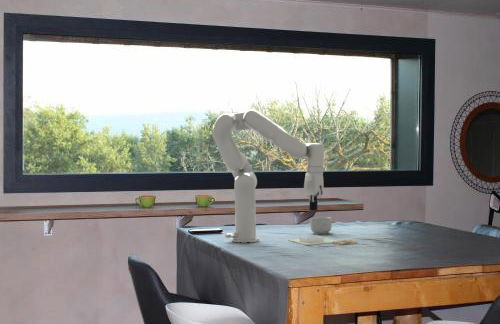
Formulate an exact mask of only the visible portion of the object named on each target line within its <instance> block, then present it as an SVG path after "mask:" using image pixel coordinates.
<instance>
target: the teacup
mask: <svg viewBox="0 0 500 324" xmlns="http://www.w3.org/2000/svg"><path fill="white" fill-rule="evenodd" d="M309 225H310V230H311V232H313V233H314V235H326V234H328V233H329V232H330V231H332V226H333V225H332V217H331V216H317V217H311V218H309Z"/></svg>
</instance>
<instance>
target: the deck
mask: <svg viewBox="0 0 500 324" xmlns="http://www.w3.org/2000/svg"><path fill="white" fill-rule="evenodd" d="M324 238H325V236H320V235H317V234H314V235H305V236H304V235H303V236H299V237H298V239H299V241H301V242H305V243H312V242H324Z"/></svg>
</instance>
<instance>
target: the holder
mask: <svg viewBox="0 0 500 324" xmlns="http://www.w3.org/2000/svg"><path fill="white" fill-rule="evenodd" d="M332 244H335V245H337V246H341V245H353V244H358V240H353V239H347V240H346V239H343V240H336V241H333V243H332Z"/></svg>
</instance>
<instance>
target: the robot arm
mask: <svg viewBox="0 0 500 324" xmlns="http://www.w3.org/2000/svg"><path fill="white" fill-rule="evenodd" d="M245 130H246V131H247V130H252V131H254V132H255V133H257V134H258V135H259V136H261V137H262V138H264V139H265V140H267V141H268V142H269V143H271V144H273V145H275V146H276V147H278V148H280V149H281V150H282V151H284V152H285V153H287V155H290V156H291V157H293V158H294V159H296V160H297V159H298V160H299V159H306V173H305V177H304V183H303V193H304V194H305V195H306V197H307V198H308V201H309V210H308V211H318V202H319V200H320V199H321V198H322V196H323V194H324V187H325V186H324V175H323V174H324V161H325V159H324V155H325V145H324V144H323V143H320V142H310V143H306V142H303V141H300V140H298V139H297V138H295V137H294V136H292V135H291V134H290V133H288V132H287V131H286V130H285V129H284V128H282V127H281V126H280V125H278V123H276V122H274V121H273V120H271V119H270V118H268V117H267V116H265V115H264V114H263V113H261V112H260V111H258V110H256V109H252V108H251V109H249V110H247V111H243V112H236V113H235V112H234V113H229V112H228V113H227V112H225V113H223V114H221V115H220V116H218V117H217V119H216V120H215V122H214V124H213V127H212V138H213V141H214V143H215V145H216V147H217V149H218V152H219V154H220V156H221V159H222V160H223V162H224V165H225V167H226V169H227V170H228V171H230V173H231V174H232V176H233V178H234V186H233V187H234V188H233V189H234V190H233V192H234V230H233V231H232V232H231V233H230V232H229V233H225V238H226V239H228V238H231V242H234V243H240V242H241V243H244V244H245V243H247V242H250V243H257V242H259V241H260V238H259V237H257V235H256V234H257V232H256V230H257V228H256V227H257V223H256V222H257V220H256V219H257V216H256V215H257V211H256V210H257V209H256V207H257V205H256V187H257V185H258V179H257V176H256V174H255V172H254V170H253V168H252V165H251V164H250V162H249V160H248V158H247V156H246V155H245V153H244V152H241V150H240V149H239V147H238V145H237V143H236V141H235V139H234V137H233V136H232V133H233V132H238V131H239V132H240V131H245Z"/></svg>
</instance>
